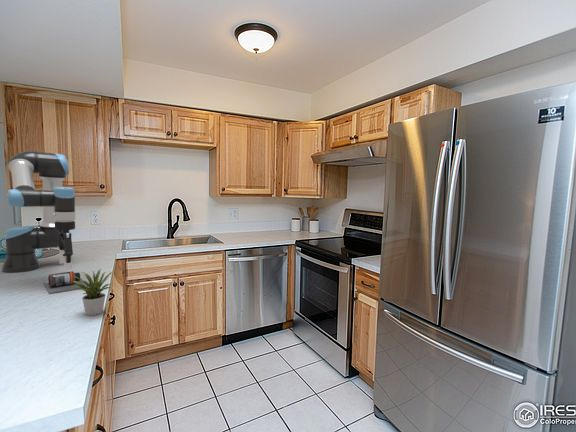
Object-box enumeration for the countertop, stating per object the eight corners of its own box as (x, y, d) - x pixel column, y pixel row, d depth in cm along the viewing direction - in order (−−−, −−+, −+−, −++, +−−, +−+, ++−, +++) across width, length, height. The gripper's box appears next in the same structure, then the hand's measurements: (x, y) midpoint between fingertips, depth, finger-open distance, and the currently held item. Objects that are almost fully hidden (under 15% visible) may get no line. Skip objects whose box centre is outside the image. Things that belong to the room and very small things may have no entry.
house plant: (111, 301, 117) (111, 262, 116) (125, 311, 109) (125, 268, 108) (68, 311, 106) (68, 268, 105) (80, 323, 98) (80, 275, 97)
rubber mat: (44, 284, 134) (44, 283, 134) (80, 279, 144) (80, 277, 144) (49, 294, 123) (49, 292, 123) (88, 287, 133) (88, 286, 133)
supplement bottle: (47, 276, 132) (77, 272, 140) (48, 288, 130) (78, 284, 138) (49, 272, 128) (80, 269, 136) (50, 286, 126) (81, 281, 135)
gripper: (50, 218, 137) (51, 262, 139) (58, 224, 120) (59, 274, 122) (70, 218, 143) (70, 259, 144) (80, 223, 125) (81, 271, 127)
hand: (65, 266), depth 133 cm, fingers open, 13 cm apart
